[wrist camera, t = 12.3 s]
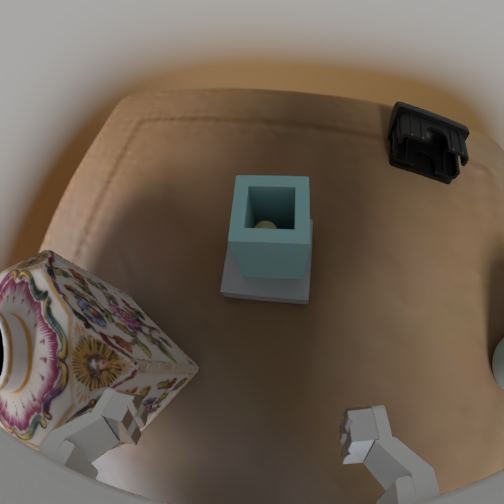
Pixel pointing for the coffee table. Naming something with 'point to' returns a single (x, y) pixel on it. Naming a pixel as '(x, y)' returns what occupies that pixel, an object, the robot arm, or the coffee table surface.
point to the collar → (281, 215)
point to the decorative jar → (76, 348)
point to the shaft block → (265, 280)
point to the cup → (499, 364)
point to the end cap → (426, 143)
